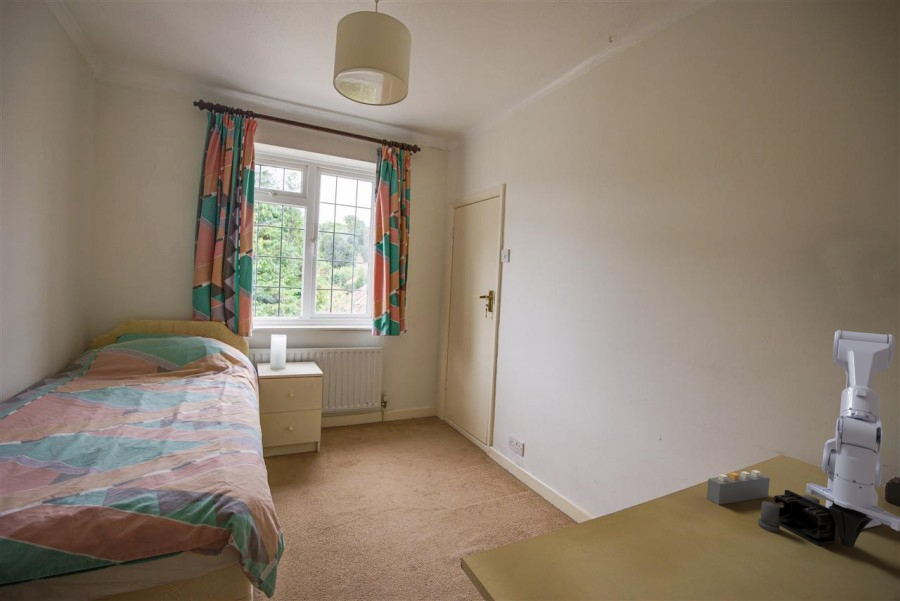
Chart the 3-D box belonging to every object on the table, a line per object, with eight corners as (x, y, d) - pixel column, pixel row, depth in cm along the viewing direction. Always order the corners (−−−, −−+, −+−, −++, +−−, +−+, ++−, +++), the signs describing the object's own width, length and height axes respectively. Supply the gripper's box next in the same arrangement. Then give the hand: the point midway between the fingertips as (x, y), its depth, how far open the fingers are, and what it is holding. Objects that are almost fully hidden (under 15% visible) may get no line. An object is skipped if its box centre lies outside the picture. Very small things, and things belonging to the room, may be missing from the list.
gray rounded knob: (765, 521, 91) (767, 499, 91) (783, 531, 88) (785, 508, 88) (754, 523, 90) (756, 501, 90) (772, 533, 86) (774, 510, 86)
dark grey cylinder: (804, 514, 96) (806, 493, 96) (823, 522, 92) (825, 501, 92) (795, 516, 95) (797, 495, 95) (813, 524, 91) (815, 503, 91)
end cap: (844, 543, 85) (847, 511, 84) (820, 547, 82) (823, 514, 82) (791, 517, 94) (794, 488, 94) (769, 519, 92) (772, 490, 92)
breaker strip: (755, 491, 106) (757, 467, 106) (768, 496, 104) (770, 472, 103) (706, 498, 100) (708, 473, 100) (718, 504, 97) (720, 479, 97)
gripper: (799, 464, 87) (793, 527, 87) (892, 499, 73) (885, 572, 73) (819, 462, 89) (814, 522, 89) (913, 494, 75) (906, 566, 76)
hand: (847, 545), depth 81 cm, fingers closed
